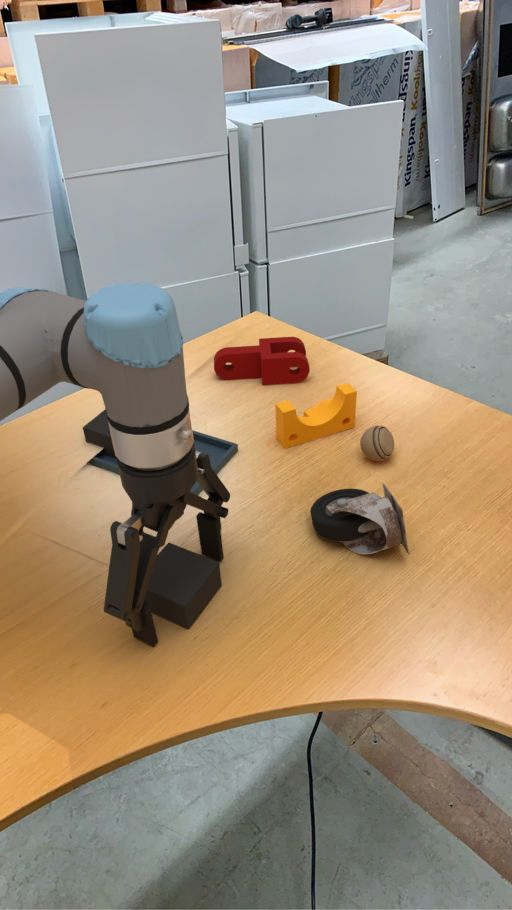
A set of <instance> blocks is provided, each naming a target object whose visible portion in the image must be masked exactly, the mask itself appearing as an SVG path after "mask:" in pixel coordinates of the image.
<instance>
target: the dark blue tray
mask: <svg viewBox="0 0 512 910" xmlns="http://www.w3.org/2000/svg"><path fill="white" fill-rule="evenodd" d="M192 432H193V439H194V441H193V443H194V446H195V451H198V452H201V453H205V454H208V455H209V458H210V463H211V468H212V469H213V470H214V472H215V473H216V475H217V476H218V474H219V473H220V472H221V471H222V469H223V468H224V467H225V466H226V465H227V464H228V463H229V462H230V460H232V458H233V457H234V456H236V454H237V453H238V452H239V444H238V443H236V442H232V441H229V440H226V439H223V438H220V437H216V436H214V435H213V436H212V435H209V434H206V433H203V432H200V431H196V430H193V429H192ZM86 464H87V465H90V466H94V467H96V468H99V469H102V470H105V471H108V472H110V473H113V474H116V475H119V476H120V473H119V469H118V464H117V459H115V458H112V457H109V456H106V455H104V454H101V453H99V452H98V453H96V454H95V455H94V456H93V457H92V458H90V459H89V460H88V461H87V462H86ZM203 491H204V490H203V489H202V488H201V487H200V485H199V484H198V483H197V482H196V483H195V484H194V486H193V487H192V488H191V489H190V492H191V493H193V494H196V495H198V496H199V495H200V493H202V492H203Z"/></svg>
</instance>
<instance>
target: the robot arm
mask: <svg viewBox="0 0 512 910" xmlns="http://www.w3.org/2000/svg"><path fill="white" fill-rule="evenodd" d="M184 358H185V357H184V337H183V333H182V331H181V328H180V323H179V319H178V314H177V309H176V304H175V301H174V299H173V297H172V296H171V294H170V293H169V292H168V291H167V290H165V289H164V288H162V287H161V286H158V285H155V284H153V283H148V282H138V283H130V282H120V283H115V284H111V285H108V286H105V287H103V288H100V289H98V290H97V291H95V292H93V293H92V294H91V295H90V296H89V297H88V298H87V300H85V299H81V298H77V297H73V296H70V295H66V294H62V293H58V292H56V291H53V290H48V289H45V288H41V289H39V288H32V287H31V288H30V287H25V286H15V287H10V288H6V289H5V290H2V291H1V292H0V422H1V421H3V420H4V419H6V418H8V417H9V416H11V415H12V414H15V412H17V411H18V410H20V409H22V408H23V407H26V406H27V405H28V404H30V403H31V402H33V401H34V400H35V399H37V398H39V397H40V396H42V395H43V394H44V393H46V392H47V391H49V390H51V389H52V388H54V387H55V386H56V385H58V384H60V383H67V384H71V385H74V386H76V387H77V386H78V387H81V388H83V389H88V390H93V391H97V392H98V393H99V394H100V395H101V398H102V401H103V405H104V410H105V412H106V416H107V420H108V424H109V428H110V433H111V438H112V442H113V447H114V451H115V456H116V457H117V464H118V469H119V473H120V475H119V477H120V482H121V486H122V488H123V490H124V492H125V494H126V495H127V496H128V498H129V499H130V501H131V511H130V516H129V518H127V519H126V520H125V521H124V522H121V521H118V520H114V521H113V522H112V523H111V524H110V529H109V531H110V538H111V539H110V540H111V550H110V558H109V566H108V572H107V573H108V574H107V581H106V590H105V596H104V604H103V612H104V613H105V614H108V615H109V616H112V617H113V618H116V619H118V620H119V621H122V622H125V626H126V627H128V628H130V629H131V632H132V636H133V638H134V639H135V640H138V641H140V642H142V643H145V644H146V645H148V646H151V647H152V648H155V647H156V645H157V644H158V643H159V639H158V635H157V630H156V627H155V622H154V617H153V613H152V612H151V608H150V604H149V602H147V601H145V600H144V599H145V596H146V592H147V589H148V585H149V582H150V578H151V575H152V571H153V568H154V564H155V561H156V557H157V555H158V554H159V550H160V548H163V547H165V545H166V542H167V538H168V534H169V532H170V530H171V529H172V528H173V526H174V525H175V523H176V522H177V521H178V520H180V519H181V518H182V517H183V516H184V514H185V510H186V508H187V506H189V507H193V508H194V509H198V510H200V511H199V512H198V513H197V514H196V516H195V517H196V524H197V532H198V538H199V547H200V555H202V556H204V557H207V558H210V559H212V560H215V561H217V562H219V563H221V562H222V561H223V559H224V550H223V539H222V520H221V518H222V519H226V518H227V516H228V515H229V508H228V507H225V506H223V504H224V503H228V502H229V501H230V499H231V492H230V491H229V490H228V489H227V487H226V486H225V484H224V483H223V482H222V480H221V478H220V477H219V476H218V474H217V475H216V473H215V472H214V470H213V469H212V468H211V463H210V458H209V455H208V454H205V453H201V452H198V451H195V446H194V443H193V441H194V439H193V432H192V430H193V426H192V418H191V412H190V402H189V395H188V392H187V391H188V390H187V381H186V369H185V359H184ZM196 482H197V483H198V484H199V485H200V487H201V488H202V489H203V490H202V491H203V492H204V493H205V495H206V496H207V497H208V498H207V499H206V498H204V497H202V496H200V495H199V494H198V495H196V494H193V493H191V492H190V489H191V488H192V487H193V486H194V484H195V483H196ZM201 511H202V512H201ZM144 528H146V529H148V530H150V531H153V532H155V533H156V535H152V534H150V533H147V532H145V531H144Z"/></svg>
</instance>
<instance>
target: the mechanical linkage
mask: <svg viewBox="0 0 512 910" xmlns="http://www.w3.org/2000/svg"><path fill="white" fill-rule="evenodd" d="M305 345H306V344H305V343H304V342H303V340H302V339H300V338H298V337H296V336H277V337H261V338H258V344H257V345H241V346H228V347H227V346H226V347H223V348H220V349H218V351H216V353H215V355H214V357H213V369H214V370H213V371H214V373H215V375H216V376H217V377H218V378H220V379H221V380H225V381H234V380H236V381H237V380H249V379H250V380H251V379H252V380H253V379H261V385H262V386H274V385H275V386H276V385H289V384H290V385H291V384H299V383H301V382H304V381H305V380H306V379H307V378H308V376H309V374H310V371H311V370H310V369H311V367H310V364H309V360H308V358H307V350H306V347H305ZM229 363H230V364H229ZM295 367H297V368H295ZM292 368H295V369H292Z"/></svg>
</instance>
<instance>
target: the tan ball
mask: <svg viewBox="0 0 512 910" xmlns="http://www.w3.org/2000/svg"><path fill="white" fill-rule="evenodd" d="M359 445H360V449H361V452H362V454H363V455H364V456H365V457H366V458H368V459H369V460H371V461H374V462H382V461H386V460H388V459H390V457H392V455H393V454H394V450H395V439H394V435H393V434H392V432H391V431H390V430H389V429H388V428H387V427H386V426H384V425H372V426H370V427H368V428H367V429H365V431H364V432H363V433H362V435H361V437H360V444H359Z"/></svg>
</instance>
